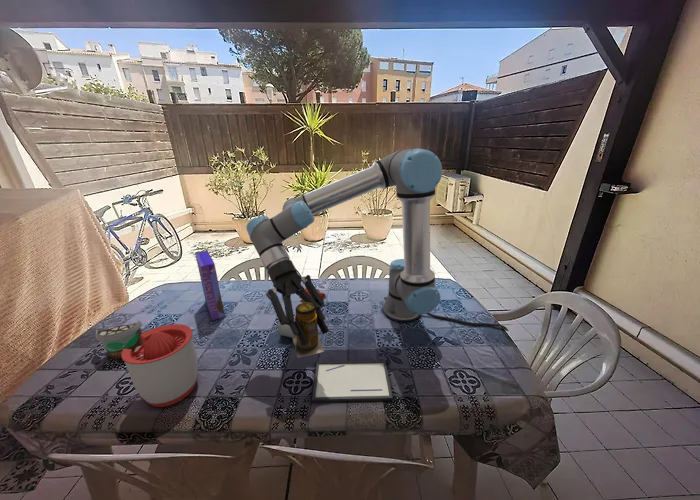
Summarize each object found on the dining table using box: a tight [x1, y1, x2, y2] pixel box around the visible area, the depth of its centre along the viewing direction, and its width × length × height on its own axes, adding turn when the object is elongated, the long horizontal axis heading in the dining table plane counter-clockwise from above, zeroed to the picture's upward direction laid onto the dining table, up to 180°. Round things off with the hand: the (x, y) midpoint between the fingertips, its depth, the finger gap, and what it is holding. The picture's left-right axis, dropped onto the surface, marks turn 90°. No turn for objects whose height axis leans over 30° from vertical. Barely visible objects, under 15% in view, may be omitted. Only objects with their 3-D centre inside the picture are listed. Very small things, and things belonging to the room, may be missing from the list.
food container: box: [95, 319, 143, 360], centre depth 89 cm, size 12×6×10 cm, turn 117°
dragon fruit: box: [298, 287, 327, 303], centre depth 119 cm, size 8×8×12 cm
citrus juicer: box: [121, 323, 199, 408], centre depth 74 cm, size 16×17×20 cm
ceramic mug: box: [277, 313, 296, 339], centre depth 100 cm, size 11×8×8 cm
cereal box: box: [194, 250, 226, 322], centre depth 112 cm, size 17×5×24 cm, turn 34°
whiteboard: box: [311, 359, 394, 403], centre depth 80 cm, size 22×14×1 cm, turn 91°
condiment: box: [292, 302, 325, 359], centre depth 74 cm, size 7×8×12 cm
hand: (316, 338), depth 73 cm, fingers closed on condiment, 6 cm apart
